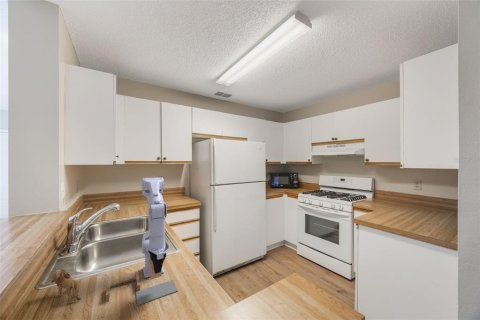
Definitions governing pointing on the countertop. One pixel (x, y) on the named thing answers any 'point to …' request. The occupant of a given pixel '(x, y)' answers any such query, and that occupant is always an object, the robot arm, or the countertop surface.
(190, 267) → the countertop surface
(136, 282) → the walnut cradle
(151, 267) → the terracotta block
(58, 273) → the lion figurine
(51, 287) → the countertop surface
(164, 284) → the slate mat
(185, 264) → the countertop surface
